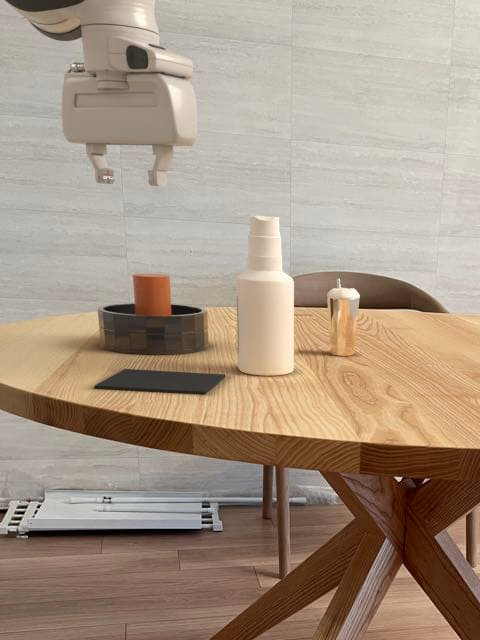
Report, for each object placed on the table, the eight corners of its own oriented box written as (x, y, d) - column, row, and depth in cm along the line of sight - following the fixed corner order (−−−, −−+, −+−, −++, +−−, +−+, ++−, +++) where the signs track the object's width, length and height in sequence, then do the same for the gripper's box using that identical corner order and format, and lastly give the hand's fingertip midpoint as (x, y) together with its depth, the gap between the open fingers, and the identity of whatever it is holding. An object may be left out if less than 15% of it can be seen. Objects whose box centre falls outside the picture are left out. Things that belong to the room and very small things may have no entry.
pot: (85, 351, 109) (81, 312, 107) (121, 335, 122) (118, 300, 121) (193, 357, 109) (192, 318, 107) (218, 341, 123) (217, 306, 121)
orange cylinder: (132, 343, 113) (127, 275, 110) (143, 338, 118) (139, 272, 114) (167, 345, 113) (163, 277, 110) (177, 340, 118) (173, 274, 114)
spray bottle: (292, 366, 107) (292, 217, 100) (295, 376, 100) (295, 218, 94) (238, 365, 105) (235, 214, 99) (238, 375, 99) (234, 215, 92)
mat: (94, 388, 89) (94, 385, 89) (124, 371, 98) (124, 368, 98) (205, 394, 89) (205, 391, 89) (225, 376, 98) (225, 374, 98)
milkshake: (351, 350, 121) (353, 279, 117) (361, 356, 116) (364, 283, 112) (321, 350, 119) (322, 278, 116) (330, 356, 115) (331, 282, 111)
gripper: (42, 58, 101) (55, 181, 107) (164, 52, 92) (171, 186, 97) (84, 67, 107) (94, 183, 112) (203, 61, 97) (208, 188, 102)
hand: (131, 184), depth 104 cm, fingers open, 8 cm apart
